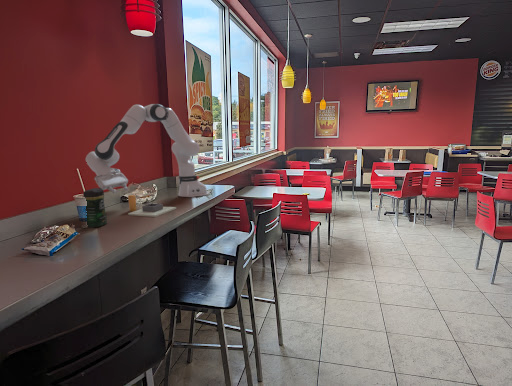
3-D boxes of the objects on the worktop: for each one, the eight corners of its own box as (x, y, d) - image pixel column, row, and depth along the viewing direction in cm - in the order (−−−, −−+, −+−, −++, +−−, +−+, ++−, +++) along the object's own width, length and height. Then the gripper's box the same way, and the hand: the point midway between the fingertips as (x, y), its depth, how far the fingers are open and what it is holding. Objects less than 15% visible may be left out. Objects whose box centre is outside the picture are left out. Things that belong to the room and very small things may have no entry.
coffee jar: (99, 228, 162) (95, 190, 158) (84, 228, 162) (79, 190, 159) (110, 222, 171) (106, 186, 168) (95, 222, 172) (91, 187, 169)
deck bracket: (128, 215, 186) (127, 208, 186) (150, 207, 205) (150, 200, 204) (155, 216, 180) (154, 209, 180) (176, 208, 199) (175, 202, 198)
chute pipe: (128, 211, 196) (126, 196, 195) (132, 209, 200) (131, 194, 198) (133, 211, 195) (132, 196, 193) (138, 210, 199) (136, 195, 197)
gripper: (95, 173, 189) (110, 190, 187) (121, 169, 208) (135, 185, 206) (90, 180, 191) (105, 198, 189) (116, 176, 210) (130, 191, 208)
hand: (121, 191), depth 198 cm, fingers open, 8 cm apart
